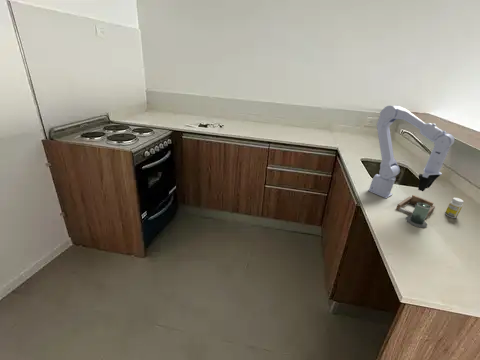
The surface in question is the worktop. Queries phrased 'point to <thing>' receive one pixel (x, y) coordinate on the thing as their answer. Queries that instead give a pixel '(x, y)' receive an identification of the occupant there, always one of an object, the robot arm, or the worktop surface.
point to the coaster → (415, 223)
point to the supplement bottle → (454, 207)
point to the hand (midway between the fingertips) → (423, 188)
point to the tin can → (420, 213)
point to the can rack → (414, 201)
